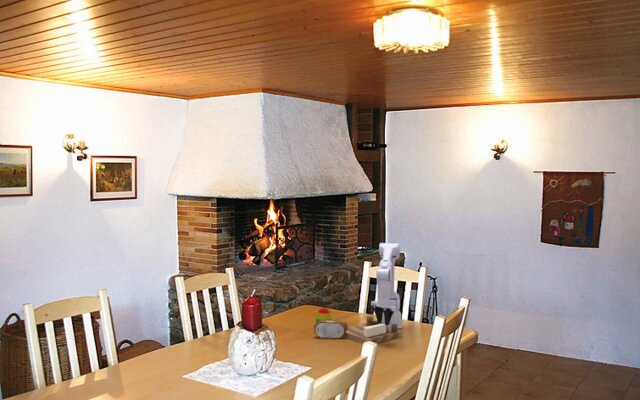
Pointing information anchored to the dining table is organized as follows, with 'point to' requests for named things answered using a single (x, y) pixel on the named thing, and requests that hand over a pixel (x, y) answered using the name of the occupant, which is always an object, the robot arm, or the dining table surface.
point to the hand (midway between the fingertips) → (383, 323)
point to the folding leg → (376, 330)
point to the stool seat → (358, 336)
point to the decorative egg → (323, 315)
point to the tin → (330, 329)
